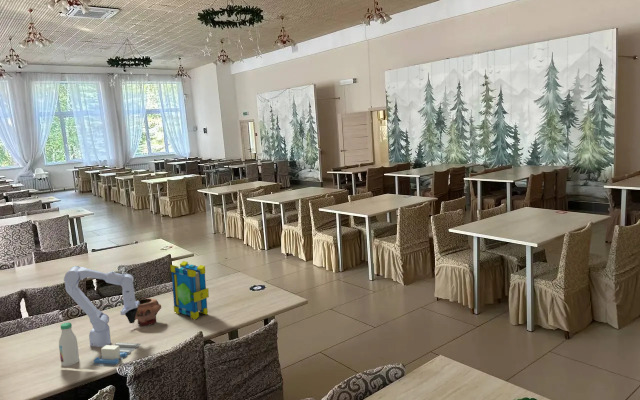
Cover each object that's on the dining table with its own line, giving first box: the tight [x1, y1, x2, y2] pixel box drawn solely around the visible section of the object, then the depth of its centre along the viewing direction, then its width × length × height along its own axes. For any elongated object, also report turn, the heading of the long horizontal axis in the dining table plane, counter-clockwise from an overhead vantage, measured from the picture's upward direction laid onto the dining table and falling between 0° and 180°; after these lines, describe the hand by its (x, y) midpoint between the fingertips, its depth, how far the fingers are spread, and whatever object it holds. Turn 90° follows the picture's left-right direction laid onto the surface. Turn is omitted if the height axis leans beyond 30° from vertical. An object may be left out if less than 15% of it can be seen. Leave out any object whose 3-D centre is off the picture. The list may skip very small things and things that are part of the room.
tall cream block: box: [100, 344, 120, 360], centre depth 230 cm, size 7×4×6 cm, turn 80°
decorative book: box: [170, 260, 210, 320], centre depth 286 cm, size 14×23×30 cm, turn 53°
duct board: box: [90, 342, 141, 368], centre depth 236 cm, size 12×24×3 cm, turn 170°
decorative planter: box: [124, 297, 162, 327], centre depth 273 cm, size 20×12×14 cm, turn 125°
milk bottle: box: [58, 322, 80, 367], centre depth 228 cm, size 8×8×20 cm
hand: (132, 322), depth 250 cm, fingers closed
